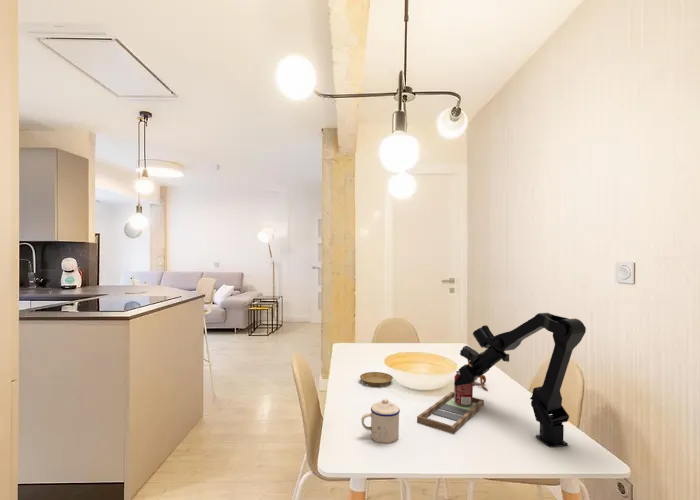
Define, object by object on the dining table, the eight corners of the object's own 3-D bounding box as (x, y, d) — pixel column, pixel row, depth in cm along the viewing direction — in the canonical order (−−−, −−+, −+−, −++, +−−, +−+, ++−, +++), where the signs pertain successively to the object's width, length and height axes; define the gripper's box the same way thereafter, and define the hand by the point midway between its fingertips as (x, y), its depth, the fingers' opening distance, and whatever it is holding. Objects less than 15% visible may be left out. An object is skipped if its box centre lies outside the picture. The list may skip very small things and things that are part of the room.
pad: (472, 412, 137) (472, 411, 137) (445, 404, 143) (445, 403, 143) (480, 405, 143) (480, 404, 143) (453, 398, 150) (453, 397, 150)
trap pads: (461, 422, 128) (461, 421, 128) (432, 413, 134) (432, 413, 134) (472, 412, 136) (472, 411, 136) (444, 404, 143) (444, 404, 143)
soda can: (473, 408, 139) (473, 376, 140) (454, 406, 141) (455, 374, 141) (471, 401, 146) (471, 370, 146) (453, 399, 147) (453, 369, 147)
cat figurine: (494, 392, 159) (495, 360, 159) (480, 393, 158) (481, 361, 157) (472, 377, 177) (473, 348, 176) (459, 377, 175) (461, 348, 175)
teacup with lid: (395, 429, 122) (396, 393, 122) (402, 443, 113) (403, 404, 113) (359, 430, 120) (359, 394, 121) (363, 445, 111) (364, 405, 112)
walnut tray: (453, 434, 119) (453, 427, 119) (417, 422, 127) (417, 416, 127) (483, 405, 143) (483, 400, 143) (451, 396, 151) (451, 391, 151)
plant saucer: (370, 390, 157) (370, 384, 157) (354, 379, 170) (354, 374, 170) (399, 385, 164) (399, 379, 164) (381, 375, 177) (381, 370, 177)
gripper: (481, 336, 149) (454, 359, 155) (464, 344, 134) (435, 369, 140) (502, 359, 144) (473, 382, 150) (486, 371, 129) (455, 395, 135)
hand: (459, 381), depth 144 cm, fingers open, 9 cm apart
